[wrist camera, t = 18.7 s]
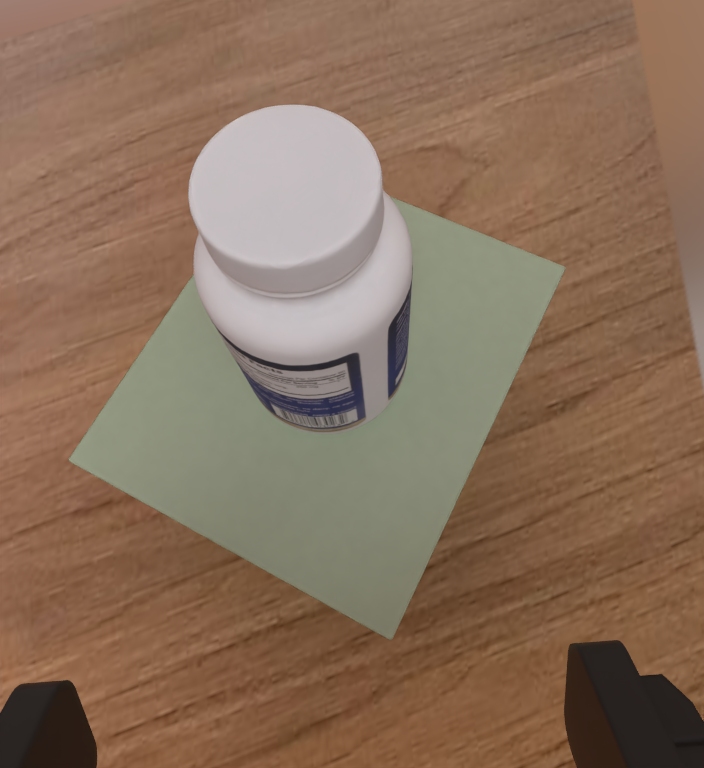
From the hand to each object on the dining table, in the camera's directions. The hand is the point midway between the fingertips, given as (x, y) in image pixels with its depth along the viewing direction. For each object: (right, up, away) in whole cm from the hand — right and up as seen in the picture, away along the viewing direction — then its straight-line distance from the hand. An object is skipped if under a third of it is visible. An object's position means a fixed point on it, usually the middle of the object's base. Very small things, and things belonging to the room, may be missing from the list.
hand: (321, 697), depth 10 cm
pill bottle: (0, +6, +12) cm, 13 cm away
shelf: (0, +3, +21) cm, 21 cm away
